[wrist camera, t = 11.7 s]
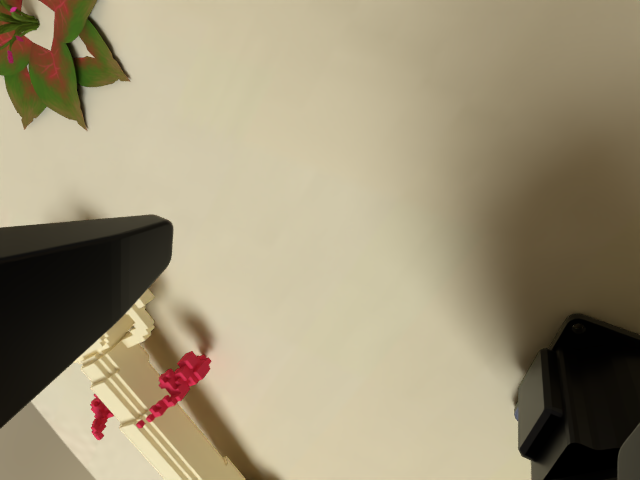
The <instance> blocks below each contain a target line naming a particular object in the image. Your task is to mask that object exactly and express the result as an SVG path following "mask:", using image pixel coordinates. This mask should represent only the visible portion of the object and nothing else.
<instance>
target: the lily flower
mask: <svg viewBox="0 0 640 480" xmlns="http://www.w3.org/2000/svg"><path fill="white" fill-rule="evenodd" d="M39 1H41V2H42V3H44V4H45V5H46V6H48V7H49V8H50V9H52V10H53V11H54V12H55V20H54V38H53V43H52V47H51V51H50V50H48V49H46V48H43V47H41V46H39V45H37V44H35V43H33V42H32V41H30V40H29V39H28V38H27V37H25V36H24V35H25V34H26V33H28V32H30V31H32V30H37V28H38V27H39V26H38V25H39V24H38V21H37V20H38V19H35V17H34V16H29V15H27V14H25V13H23V12H21V6H22V0H0V75H4V77H5V84H6V89H7V92H8V94H9V97H10V99H11V101H12V103H13V105H14V107H15V109H16V111H17V113H19V114H20V116H21V117H22V119H21V120H22V123H23V127H24V130H25V129H26V127H27V125H29V124H30V123H31V122H32V121H33V118H37V117H38V116H39V115H40V114H41V112H42V111H43V110H44V109H45V108H46V107H48V108H50V109H52V110H53V111H55V112H57V113H58V114H60V115H62V116H64V117H66V118H68V119H73V120H76V121H77V122H78V124H79V125H80V126H82V127H83V128H84V129H85V130H87V128H86V125H85V123H84V118H83V114H82V110H81V109H80V101H79V97H78V93H77V84H79V85H81V86H85V87H99V86H104V85H108V84H112V83H114V82H115V81H117V80H118V79H119V80H120V81H130V80H129V79H128V78H127V76H126V75H125V74H124V73H123V71H122V69H121V67H120V66H119V64H118V63H117V61H116V60H114V59H113V57H112V53H111V51H110V50H109V48H108V47H107V45H106V44H105V42H104V41H103V39H102V38H101V36H100V34H99V33H98V31H97V30H96V29H95V27H94V26H93V25H92V24H91V22H90V21H89V20H88V19H87V18H88V16H89V15H90V13H91V11H92V9H93V7H94V5H95V3H96V1H97V0H39ZM22 15H23V16H22ZM22 32H23V33H22ZM78 35H79V37H80V38H81V39H82V41H83V42H84V44H85V45H86V47H87V50H88V51H89V52H90V53H91V54H92V55H93V56H94V57H95V58H92V57H88V56H86V57H84V58H72V56H71V53H70V51H69V49H68V47H67V45H66V43H69V42H72V41H73V40H75V39H76V38H77V37H78ZM28 63H29V72H28V69H27V65H28Z"/></svg>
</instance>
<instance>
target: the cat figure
mask: <svg viewBox="0 0 640 480" xmlns="http://www.w3.org/2000/svg"><path fill="white" fill-rule="evenodd" d="M153 298H155V297H154V295H153V294H152V293H151V292H150V290H149V289H147V290H146V291H145V292H144V294H143V295H142V296H141V297H140V298H139V299H138V300H137V301H136V303H135V304H134V305H133V306H132V307H131V308H130V309H129V310H128V311H127V313H126V314H125V315H124V316H123V317H122V318H121V319H120V320H119V321H118V322H117V323H116V324H115V325H114V326H113V327H111V328H110V329H109V330H108V331H107V332H106V333H105V334H104V335H103V336H102V337H100V338H99V339H98V340H97V341H96V342H95V343H94V344H93V345H92V346H91V347H90V348H88V349H87V350H86V351H85V352H84V353H83V354H82V355H81V356H80V357H79V358H77V359H76V360H75V361H74V362H73V363H76V362H78V363H79V364H83V366H82V368H81V371H82V372H83V373H84V374H85V375H86V376H87V377H88V379H89V380H90V381H91V382H92V385H91V387H90V389H91V390H92V391H93V392H94V393H95V394H94V396H95V397H96V398H95V399H94V400H93V401H92V402H91V404H90V405H91V406H92V408H91V410H92V411H93V412H94V413H95V414H96V415H95V416H94V417H95V418H96V419H95V420H94V421H93V424H92V427H91V429H92V430H93V431H92V433H93V435H94V436H95V438H96V439H97V440H101V439H102V438H103V436H104V435H103V434H102V431H103V430H104V428H105V427H106V425H105V423H106V422H107V419H108V418H110V417H113V416H115V417H116V418H117V419H118V420H119V421H120V423H121V424H120V428H119V429H120V430H121V431H122V432H123V434H124V435H125V436H126V437H127V438H128V439H129V440H130V441H131V443H132V444H133V445H134V446H135V447H136V448H137V449H138V450H139V452H140V453H141V454H142V455H143V456H144V457H145V458H146V459H147V461H148V462H149V463H150V464H151V465H152V466H153V467H154V468H155V470H156V471H157V472H158V473H159V474H160V475H161V476H162V477H163V479H164V480H246V479H245V478H244V476H243V475H242V474H241V473H240V472H239V470H238V469H237V468H236V467H235V466H234V464H233V463H232V462H231V461H230V459H229V458H228V457H227V456H224V457H222V456H221V455H220V454H219V453H218V451H217V450H216V449H215V448H214V447H213V445H212V444H211V443H210V442H209V441H208V439H207V438H206V437H205V436H204V435H203V433H202V432H201V431H200V430H199V429H198V427H197V426H196V425H195V424H194V423H193V421H192V420H191V419H190V418H189V417H188V415H187V414H186V413H185V412H184V411H183V409H182V408H181V407H180V406H179V405H178V403H177V402H178V401H181V400H182V399H183V398H184V396H185V395H186V394H187V393H188V391H189V390H190V388H189V387H190V386H192V385H195V384H197V383H198V381H199V380H202V379H203V378H204V377H205V375H206V374H207V373H208V371H209V370H210V368H209V367H210V366H209V364H210V362H211V360H210V359H209V357H208V358H206V356H205V355H201V356H197V357H196V355H195V354H194V353H193V351H191V352H189V353H186V354H185V355H184V356H183V357H182V359H181V360H180V361H179V362H178V363H177V364H178V365H179V367H180V368H178V369H176V371H175V372H173V370H172V369H168V370H167V371H166V372H165V373H164V374H161V375H159V374H158V373H157V371H156V370H155V369H154V368H153V367H152V365H151V364H150V363H149V362H148V361H149V355H148V354H147V353H146V351H145V350H144V349H143V348H142V347H141V345H140V344H139V343H141V342H143V341H145V340H146V339H147V338H148V337H149V336H150V335H151V331H152V330H153V329H154V328H155V327H154V326H153V323H154V320H153V319H152V318H151V317H150V315H149V314H148V313H147V312H146V310H145V309H146V308H145V307H146V306H145V305H146V304H147V303H148V302H150V301H151V300H152V299H153ZM132 326H134V328H133V329H132V330H131V331H130V332H131V333H130V332H129V331H128V330H129V329H130V328H131V327H132ZM127 331H128V332H127Z"/></svg>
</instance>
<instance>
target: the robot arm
mask: <svg viewBox="0 0 640 480" xmlns="http://www.w3.org/2000/svg"><path fill="white" fill-rule="evenodd" d="M172 243H173V225H172V223H171V222H170V221H169V220H167V219H164V218H162V217H159V216H157V215H140V216H129V217H118V218H106V219H95V220H83V221H72V222H60V223H49V224H37V225H26V226H14V227H3V228H0V428H2V427H3V426H4V425H5V424H6V423H7V422H8V421H9V420H11V419H12V418H13V417H14V416H15V415H16V414H17V413H18V412H19V411H20V410H22V409H23V408H24V407H25V406H26V405H27V404H28V403H29V402H30V401H31V400H32V399H34V398H35V397H36V396H37V395H38V394H39V393H40V392H41V391H42V390H43V389H45V388H46V387H47V386H48V385H49V384H50V383H51V382H52V381H53V380H54V379H56V378H57V377H58V376H59V375H60V374H61V373H62V372H63V371H64V370H65V369H66V368H68V367H69V366H70V365H71V364H72V363H73V362H74V361H75V360H76V359H77V358H79V357H80V356H81V355H82V354H83V353H84V352H85V351H86V350H87V349H88V348H90V347H91V346H92V345H93V344H94V343H95V342H96V341H97V340H98V339H99V338H100V337H102V336H103V335H104V334H105V333H106V332H107V331H108V330H109V329H110V328H111V327H113V326H114V325H115V324H116V323H117V322H118V321H119V320H120V319H121V318H122V317H123V316H124V315H125V314H126V313H127V311H128V310H129V309H130V308H131V307H132V306H133V305H134V304H135V303H136V301H137V300H138V299H139V298H140V297H141V296H142V295H143V294H144V292H145V291H146V290H147V289H148V288H149V287H150V286H151V285H152V283H153V282H154V281H155V280H156V279H157V278H158V277H159V276H160V274H161V273H162V272H163V271H164V270H165V269H166V268H167V266H168V265H169V263H170V260H171V256H172ZM578 323H579V324H583V325H584V326H583V327H582V328H580V329H577V328H574V327H572V326H573V325H575V324H578ZM514 415H515V418H516V419H517V421H518V449H519V451H520V454H521V456H522V457H525V458H527V459H529V460H531V480H640V335H638V334H635V333H632V332H629V331H627V330H624V329H621V328H619V327H616V326H613V325H610V324H608V323H605V322H602V321H599V320H597V319H594V318H591V317H588V316H586V315H583V314H572V315H570V316H568V318H567V319H566V320H565V322H564V323H563V325H562V327H561V329H560V330H559V332H558V334H557V335H556V337H555V339H554V340H553V342H552V344H551V346H550V347H549V349H548V348H545V349H542V350H540V351H539V353H538V354H537V356H536V358H535V360H534V361H533V363H532V365H531V366H530V368H529V370H528V372H527V373H526V375H525V377H524V379H523V380H522V382H521V384H520V386H519V388H518V402H517V404H516V406H515V409H514Z"/></svg>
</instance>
